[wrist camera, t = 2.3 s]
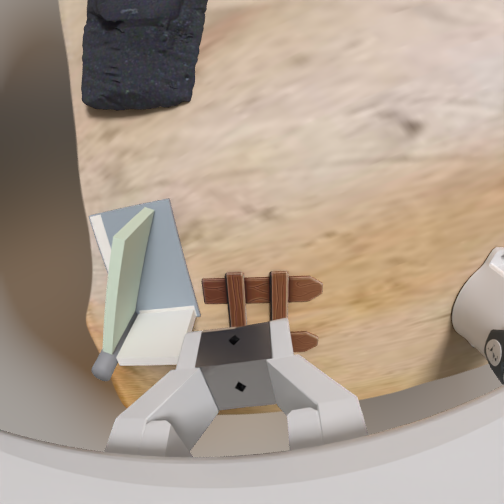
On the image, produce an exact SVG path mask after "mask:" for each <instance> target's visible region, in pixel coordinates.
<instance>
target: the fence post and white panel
mask: <svg viewBox="0 0 504 504" xmlns="http://www.w3.org/2000/svg"><path fill="white" fill-rule="evenodd" d="M195 318H196V315H195V312H194V309H188V310H178V311H167V312H156V313H144V314H137V312H134V314H133V316H132V318H131V320H130V321H129V323H128V325H127V327H126V329H125V331H124V333H123V335H122V336H121V338H120V340H119V342H118V344H117V346H116V348H115V350H114V352H113V354H109V353H106V352H104V351H103V349H102V351H101V353H100V354H99V356H98V358H97V360H96V362H95V364H94V365H93V367H92V373H93V374H94V376H95V377H96V378H98V379H100V380H102V381H108V380H110V378H111V376H112V374H113V371H114V369H115V367H116V365H117V363H119V364H120V365H121V366H132V365H176V364H177V362H178V358H179V355H180V351H181V347H182V343H183V340H184V336H185V334H186V333H187V332H192V329H193V325H194V322H195Z"/></svg>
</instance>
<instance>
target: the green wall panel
mask: <svg viewBox="0 0 504 504" xmlns="http://www.w3.org/2000/svg"><path fill="white" fill-rule="evenodd" d="M153 215H154V210H153V209H150V208H147V207H144V208H143V209H142V210H141V211H140V212H139V213H138V214H137V215H136V216H135V217H133V218H132V219H131V220H130V221H129V222H128V223H127V224H126V225H125V226H124V227H123V228H122V229H121V230H120V231H119V232H118V233H116V234H115V235H114V236H113V241H112V248H111V255H110V263H109V272H108V281H107V291H106V302H105V316H104V332H103V351H104V352H106V353H109V354H113V352H114V350H115V348H116V346H117V344H118V342H119V340H120V338H121V336H122V335H123V333H124V331H125V329H126V327H127V325H128V323H129V321H130V320H131V318H132V316H133V314H134V312H135V309H136V303H137V297H138V291H139V285H140V279H141V273H142V268H143V263H144V257H145V252H146V247H147V242H148V237H149V233H150V228H151V223H152V219H153Z"/></svg>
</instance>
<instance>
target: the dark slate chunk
mask: <svg viewBox="0 0 504 504" xmlns="http://www.w3.org/2000/svg"><path fill="white" fill-rule="evenodd" d="M207 1H208V0H88V2H87V3H88V5H87V21H86V23H87V24H86V25H85V27H84V35H83V44H82V46H83V56H82V61H83V75H82V86H81V91H82V101H83V103H84V104H86V105H88V106H90V107H93V108H95V109H114V110H125V109H151V108H157V107H159V106H161V107H171V106H176V105H178V104H180V103H181V102H183V101H190V100H191V97H192V89H193V87H194V84H195V65H196V63H197V61H198V58H197V57H198V54H199V45H200V42H201V37H202V32H203V29H204V28H203V25H204V22H205V11H206V9H207V8H206V5H207Z"/></svg>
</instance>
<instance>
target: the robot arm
mask: <svg viewBox="0 0 504 504" xmlns="http://www.w3.org/2000/svg"><path fill="white" fill-rule="evenodd" d="M452 323H453V327H454V329H455V330H456V332H457V333H459V334H460V335H461V336H463V337H464V338H465V339H467V340H468V342H469V343H470V344H471V346H472V347H475V348H476V349H477V350H478V351H479V352H480V353H481V354H482V355H483V356H484V357H485V358H486V359H487V360H488V362H489V364H490V367H491V369H492V370H493V372H494V373H495V375H496V376H497V378H498V380H500V382H501V383H502V384H503V386H501V387H498V388H496V389H494V390H492V391H490V392H488V393H486V394H484V395H482V396H479V397H477V398H475V399H473V400H470V401H468V402H466V403H463V404H461V405H459V406H456V407H454V408H451V409H449V410H446V411H443V412H441V413H438V414H435V415H433V416H430V417H427V418H424V419H421V420H418V421H415V422H412V423H409V424H406V425H403V426H399V427H396V428H393V429H389V430H386V431H382V432H378V433H374V434H371V435H368V431H367V428H366V425H365V421H364V418H363V415H362V411H361V408H360V405H359V401H358V398H357V396H355V395H354V394H353V393H351V392H350V391H348V390H347V389H346V388H344V387H343V386H341V385H340V384H339V383H337V382H336V381H334V380H333V379H332V378H330V377H329V376H327V375H326V374H325V373H323V372H322V371H321V370H319V369H318V368H317V367H315V366H314V365H312V364H311V363H310V362H308V361H307V360H306V359H304V358H303V357H302V356H300V355H294V353H293V346H292V340H291V334H290V328H289V322H288V319H287V318H282V319H277V320H272V321H270V322H264V323H258V324H252V325H246V326H239V327H229V328H221V329H212V330H204V331H195V332H187V333H186V334H185V336H184V340H183V343H182V347H181V351H180V355H179V358H178V362H177V366H176V370H171V371H169V372H168V373H167V374H166V375H165V376H164V377H163V378H162V379H160V380H159V381H158V382H157V383H156V384H155V385H154V386H152V387H151V388H150V389H149V390H148V391H147V392H146V393H145V394H143V395H142V396H141V397H140V398H139V399H138V400H137V401H135V402H134V403H133V404H132V405H131V406H130V407H128V408H127V409H126V410H125V411H124V412H123V413H121V414H120V415H119V416H118V417H117V418H116V420H115V423H114V425H113V428H112V431H111V434H110V437H109V440H108V443H107V446H106V448H105V452H101V451H94V450H87V449H81V448H75V447H69V446H64V445H59V444H54V443H49V442H45V441H40V440H36V439H32V438H28V437H24V436H20V435H17V434H13V433H10V432H7V431H3V430H0V504H504V247H496V248H494V249H493V250H492V252H491V253H490V255H489V256H488V258H487V260H486V261H485V263H484V264H483V265H482V266H481V267H480V268H479V269H478V270H477V271H476V272H475V273H474V274H473V275H472V276H471V277H470V278H469V280H468V281H467V282H466V283H465V285H464V286H463V288H462V289H461V291H460V293H459V295H458V297H457V299H456V302H455V305H454V308H453V313H452ZM272 404H277V405H278V407H279V408H280V409H281V410H282V411H283V412H284V413H285V414H286V416H287V419H288V433H289V446H290V450H289V451H281V452H273V453H265V454H253V455H241V456H226V457H225V456H224V457H193V456H192V455H191V453H190V450H191V449H192V447H193V446H194V445H195V444H196V442H197V441H198V440H199V438H200V437H201V436H202V434H203V433H204V431H205V430H206V429H207V428H208V426H209V425H210V423H211V422H212V421H213V419H214V418H215V417H216V415H217V414H218V412H219V411H218V410H226V409H235V408H243V407H252V406H263V405H272Z"/></svg>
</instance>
